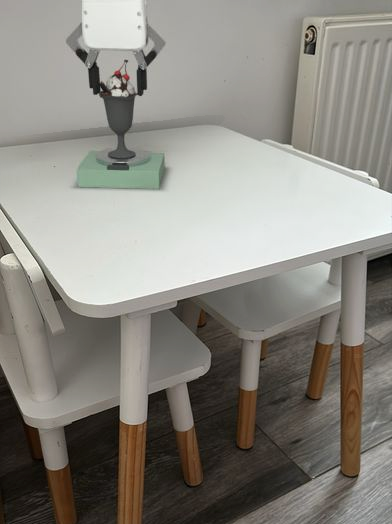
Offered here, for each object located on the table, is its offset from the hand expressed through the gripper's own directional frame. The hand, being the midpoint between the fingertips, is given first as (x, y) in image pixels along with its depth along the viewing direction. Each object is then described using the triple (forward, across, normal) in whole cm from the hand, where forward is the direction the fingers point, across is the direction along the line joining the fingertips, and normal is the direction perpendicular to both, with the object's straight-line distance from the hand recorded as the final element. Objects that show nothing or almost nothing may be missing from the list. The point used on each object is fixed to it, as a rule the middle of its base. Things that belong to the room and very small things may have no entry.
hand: (118, 93), depth 94 cm
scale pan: (+11, 0, 0) cm, 11 cm away
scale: (+14, 0, +1) cm, 14 cm away
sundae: (+10, 0, 0) cm, 10 cm away
